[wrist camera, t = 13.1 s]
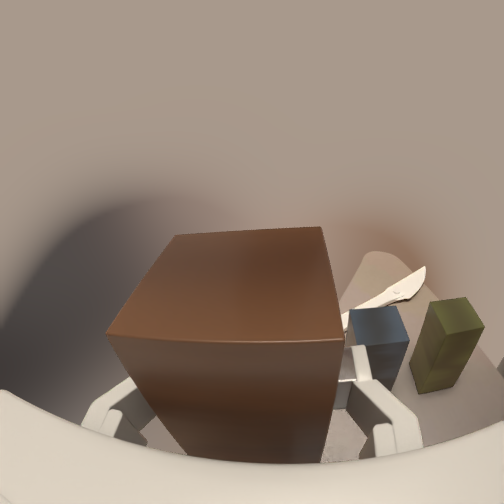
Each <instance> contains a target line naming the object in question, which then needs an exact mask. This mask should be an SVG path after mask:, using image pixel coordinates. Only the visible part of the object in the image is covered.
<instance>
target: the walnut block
mask: <svg viewBox="0 0 504 504" xmlns="http://www.w3.org/2000/svg"><path fill="white" fill-rule="evenodd" d="M106 336H107V338H108V340H109V342H110V343H111V345H112V347H113V349H114V351H115V352H116V354H117V355H118V357H119V359H120V361H121V362H122V364H123V366H124V367H125V369H126V371H127V372H128V374H129V376H130V377H131V379H132V380H133V382H134V383H135V385H136V386H137V388H138V389H139V391H140V392H141V394H142V395H143V397H144V398H145V400H146V401H147V403H148V404H149V406H150V407H151V408H152V410H153V411H154V413H155V414H156V415H157V417H158V418H159V419H160V421H161V422H162V423H163V425H164V426H165V427H166V429H167V430H168V431H169V432H170V434H171V435H172V436H173V438H174V439H175V440H176V441H177V442H178V443H179V445H180V446H181V447H182V449H183V450H184V451H185V452H186V453H187V455H189V456H195V457H201V458H208V459H216V460H225V461H235V462H247V463H266V464H310V463H320V461H321V457H322V453H323V449H324V446H325V442H326V438H327V433H328V429H329V425H330V421H331V416H332V411H333V407H334V402H335V397H336V392H337V387H338V381H339V376H340V370H341V364H342V358H343V352H344V345H345V335H344V330H343V324H342V319H341V314H340V308H339V303H338V298H337V293H336V289H335V284H334V279H333V275H332V270H331V265H330V261H329V257H328V252H327V248H326V244H325V240H324V236H323V232H322V228H321V227H300V228H281V229H280V228H279V229H261V230H243V231H227V232H212V233H197V234H182V235H175V236H174V237H173V239H172V240H171V241H170V242H169V244H168V245H167V246H166V248H165V249H164V250H163V252H162V253H161V254H160V256H159V257H158V258H157V260H156V261H155V263H154V264H153V265H152V267H151V268H150V270H149V271H148V272H147V273H146V275H145V276H144V278H143V279H142V280H141V282H140V283H139V285H138V286H137V287H136V289H135V290H134V292H133V293H132V295H131V296H130V297H129V299H128V300H127V302H126V304H125V305H124V306H123V308H122V309H121V311H120V312H119V313H118V315H117V317H116V318H115V319H114V321H113V322H112V324H111V325H110V327H109V329H108V330H107V332H106Z"/></svg>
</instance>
